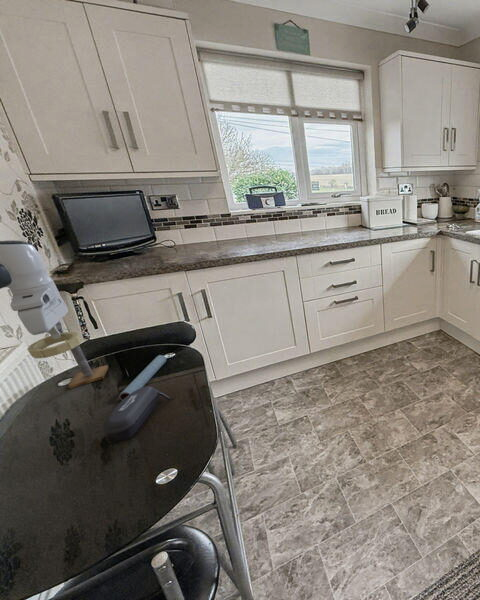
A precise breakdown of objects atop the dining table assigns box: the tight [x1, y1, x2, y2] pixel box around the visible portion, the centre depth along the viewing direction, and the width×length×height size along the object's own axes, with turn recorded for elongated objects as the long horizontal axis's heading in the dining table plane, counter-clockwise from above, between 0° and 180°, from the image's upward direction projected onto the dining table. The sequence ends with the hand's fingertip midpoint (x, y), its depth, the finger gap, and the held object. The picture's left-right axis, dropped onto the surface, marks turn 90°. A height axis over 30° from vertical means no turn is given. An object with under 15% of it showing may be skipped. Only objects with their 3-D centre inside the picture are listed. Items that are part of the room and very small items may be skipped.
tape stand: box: [67, 344, 109, 389], centre depth 111 cm, size 9×9×14 cm
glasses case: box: [103, 385, 171, 442], centre depth 89 cm, size 18×10×8 cm, turn 13°
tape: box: [27, 331, 83, 359], centre depth 98 cm, size 11×11×2 cm
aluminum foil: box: [118, 354, 167, 401], centre depth 108 cm, size 23×7×3 cm, turn 11°
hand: (59, 336), depth 101 cm, fingers closed on tape, 1 cm apart
